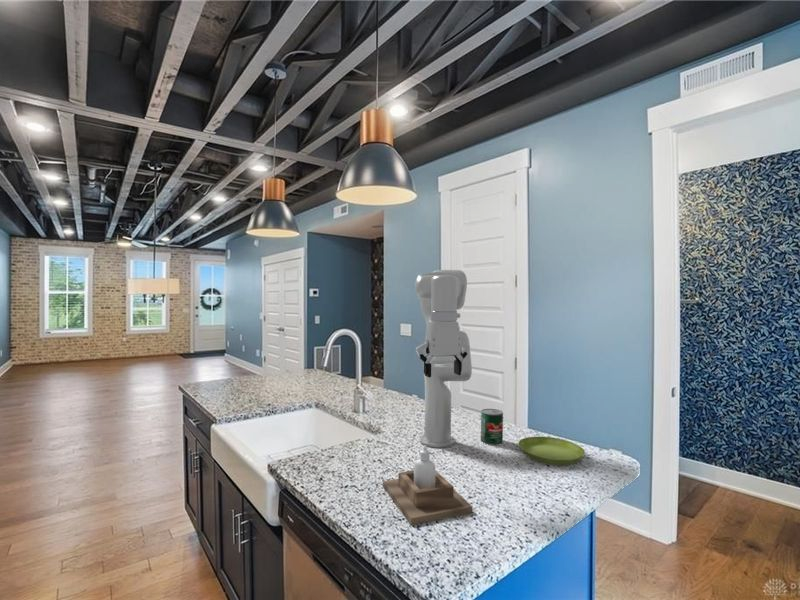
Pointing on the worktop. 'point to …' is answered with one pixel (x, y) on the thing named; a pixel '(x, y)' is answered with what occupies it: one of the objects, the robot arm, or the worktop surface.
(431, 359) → the robot arm
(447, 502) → the bottle stand
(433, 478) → the eye dropper bottle
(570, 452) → the saucer
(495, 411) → the canned tomato
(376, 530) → the worktop surface
